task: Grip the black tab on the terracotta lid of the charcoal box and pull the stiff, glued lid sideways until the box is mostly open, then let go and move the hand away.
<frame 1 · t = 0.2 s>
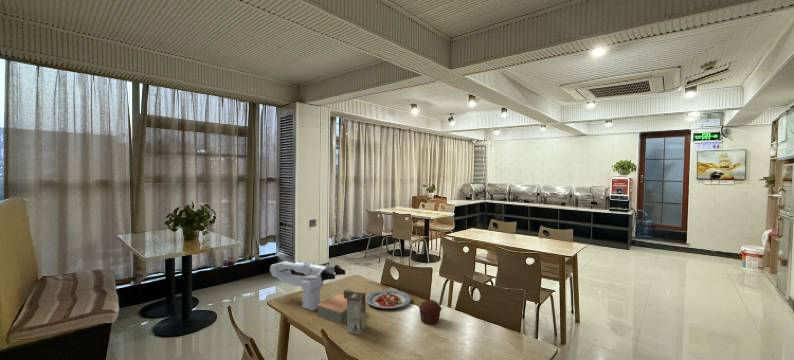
hand: (339, 274, 172), 21 cm above the table, tool horizontal, fingers open, 7 cm apart
lid: (340, 299, 174), point 8 cm above the table, slide at 0.0 cm
coffee box: (356, 329, 158), on the table
box: (340, 313, 175), on the table
muffin: (430, 321, 167), on the table
ceramic plate: (388, 302, 190), on the table
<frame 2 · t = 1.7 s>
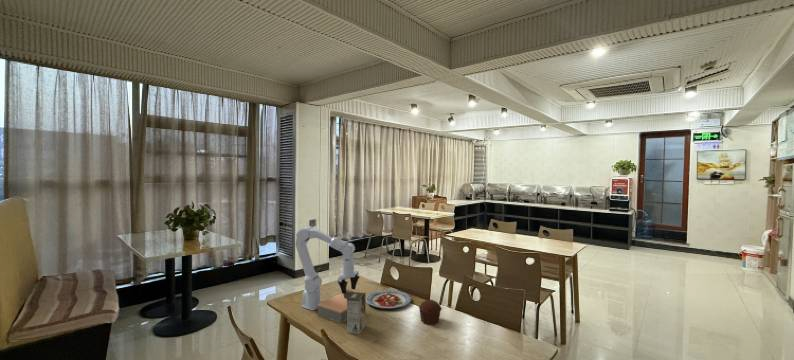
hand: (348, 291, 180), 10 cm above the table, tool pointing down, fingers open, 7 cm apart
nothing on the table moved.
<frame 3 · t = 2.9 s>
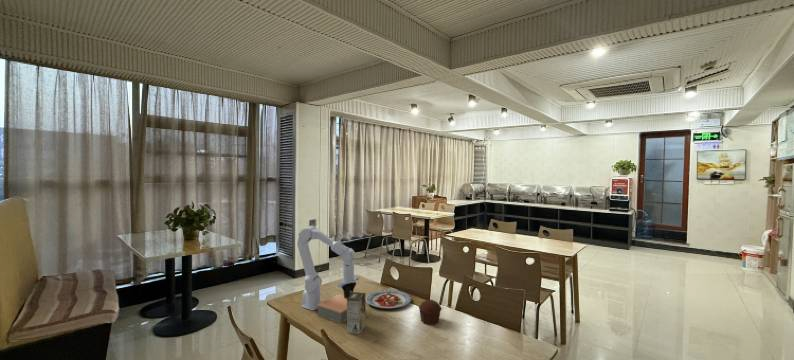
hand: (348, 296, 180), 7 cm above the table, tool pointing down, fingers closed on lid, 2 cm apart
lid: (340, 299, 174), point 8 cm above the table, slide at 0.0 cm, touching gripper
everything else where it was.
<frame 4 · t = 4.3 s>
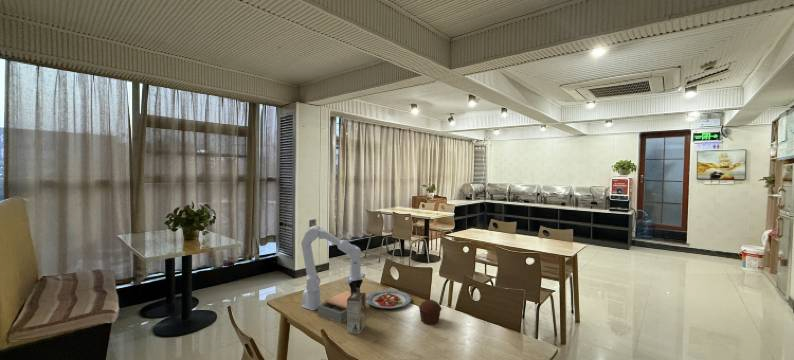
hand: (355, 293, 184), 7 cm above the table, tool pointing down, fingers closed on lid, 2 cm apart
lid: (347, 295, 179), point 8 cm above the table, slide at 5.6 cm, touching gripper
everything else where it was.
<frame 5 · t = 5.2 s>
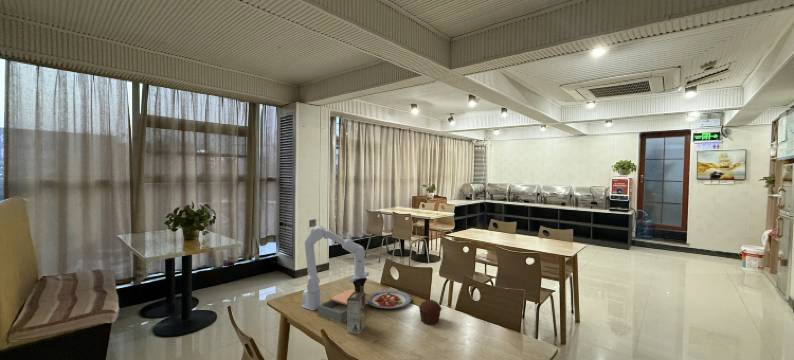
hand: (359, 291, 187), 7 cm above the table, tool pointing down, fingers closed on lid, 2 cm apart
lid: (351, 293, 182), point 8 cm above the table, slide at 9.0 cm, touching gripper
everything else where it was.
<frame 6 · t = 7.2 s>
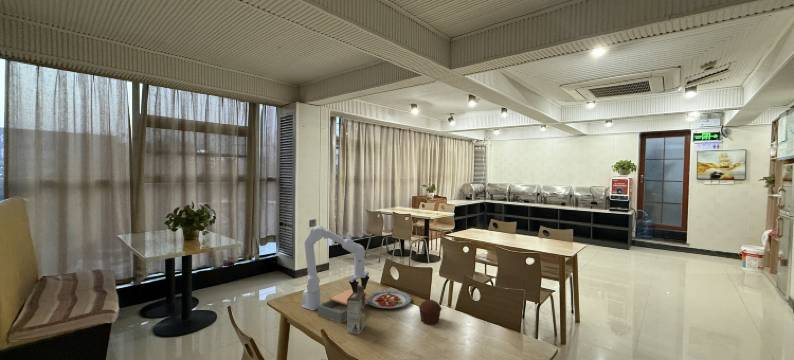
hand: (359, 291, 187), 7 cm above the table, tool pointing down, fingers open, 7 cm apart
lid: (351, 293, 182), point 8 cm above the table, slide at 9.0 cm
everything else where it was.
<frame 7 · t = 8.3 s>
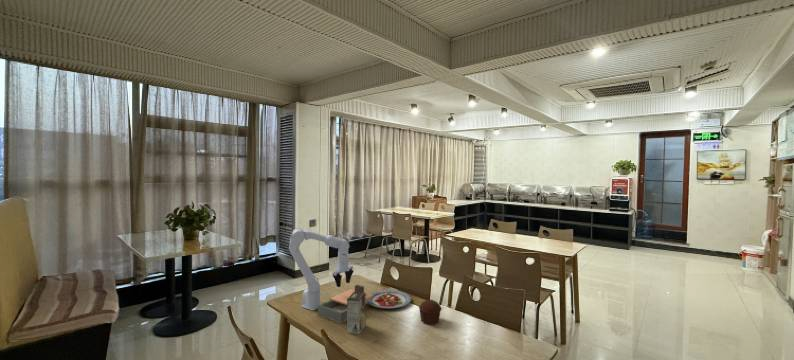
hand: (343, 284, 188), 10 cm above the table, tool pointing down, fingers open, 7 cm apart
nothing on the table moved.
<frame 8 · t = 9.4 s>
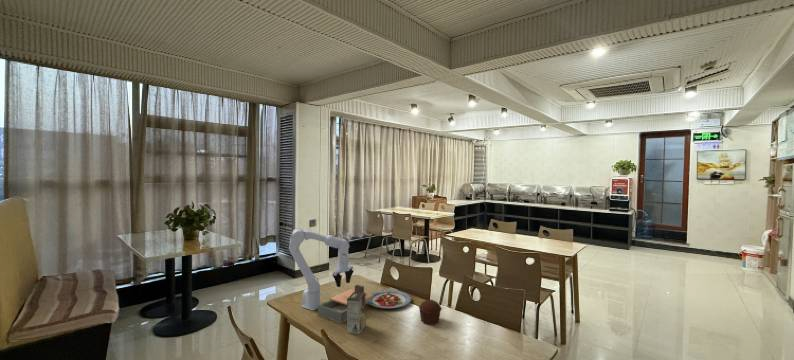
hand: (343, 284, 188), 10 cm above the table, tool pointing down, fingers open, 7 cm apart
nothing on the table moved.
at the end: lid slide at 9.0 cm; the gripper is holding nothing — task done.
